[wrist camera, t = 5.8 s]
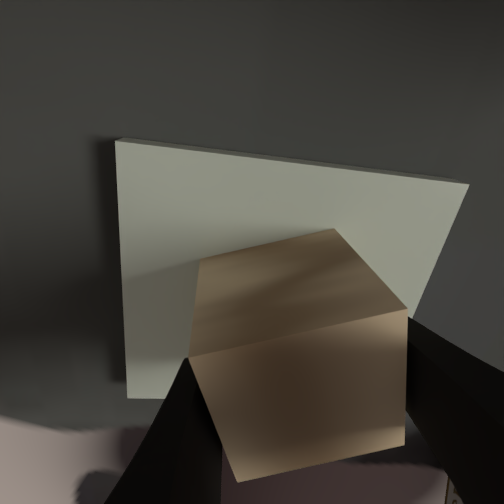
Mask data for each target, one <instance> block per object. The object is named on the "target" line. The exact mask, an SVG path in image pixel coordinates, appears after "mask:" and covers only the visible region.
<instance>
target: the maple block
mask: <svg viewBox="0 0 504 504" xmlns="http://www.w3.org/2000/svg"><path fill="white" fill-rule="evenodd" d="M407 328H408V308H407V307H406V306H405V305H404V304H403V303H402V302H401V300H400V299H399V298H398V297H397V296H396V295H395V294H394V293H393V292H392V291H391V289H390V288H389V287H388V286H387V285H386V284H385V283H384V282H383V281H382V280H381V279H380V277H379V276H378V275H377V274H376V273H375V272H374V271H373V270H372V269H371V268H370V267H369V265H368V264H367V263H366V262H365V261H364V260H363V259H362V258H361V257H360V256H359V255H358V253H357V252H356V251H355V250H354V249H353V248H352V247H351V246H350V245H349V244H348V243H347V241H346V240H345V239H344V238H343V237H342V236H341V235H340V234H339V233H338V232H337V231H336V229H335V228H334V229H329V230H325V231H320V232H316V233H312V234H307V235H303V236H298V237H294V238H290V239H285V240H281V241H276V242H272V243H267V244H263V245H259V246H254V247H250V248H245V249H241V250H237V251H232V252H228V253H223V254H219V255H214V256H210V257H206V258H201V259H200V263H199V272H198V280H197V288H196V297H195V305H194V313H193V321H192V330H191V338H190V346H189V355H188V359H189V362H190V364H191V367H192V369H193V372H194V374H195V377H196V379H197V382H198V384H199V387H200V389H201V392H202V394H203V397H204V400H205V402H206V405H207V407H208V410H209V412H210V415H211V417H212V420H213V422H214V425H215V427H216V430H217V432H218V435H219V437H220V440H221V442H222V445H223V447H224V450H225V452H226V455H227V458H228V460H229V463H230V465H231V468H232V470H233V473H234V475H235V478H236V480H237V482H241V481H246V480H251V479H255V478H260V477H264V476H269V475H273V474H278V473H282V472H287V471H291V470H296V469H300V468H304V467H309V466H313V465H318V464H322V463H327V462H331V461H336V460H340V459H345V458H349V457H354V456H358V455H363V454H367V453H372V452H376V451H380V450H385V449H389V448H394V447H398V446H403V445H405V407H406V368H407Z"/></svg>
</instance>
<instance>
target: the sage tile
mask: <svg viewBox="0 0 504 504" xmlns="http://www.w3.org/2000/svg"><path fill="white" fill-rule="evenodd" d="M115 151H116V172H117V192H118V213H119V233H120V254H121V274H122V294H123V315H124V335H125V356H126V376H127V397H128V398H159V399H165V398H166V396H167V394H168V391H169V389H170V387H171V385H172V383H173V381H174V379H175V377H176V375H177V372H178V370H179V368H180V366H181V364H182V361H183V360H184V358H187V357H188V355H189V346H190V338H191V330H192V321H193V313H194V305H195V297H196V288H197V280H198V272H199V263H200V259H201V258H206V257H210V256H214V255H219V254H223V253H228V252H232V251H237V250H241V249H245V248H250V247H254V246H259V245H263V244H267V243H272V242H276V241H281V240H285V239H290V238H294V237H298V236H303V235H307V234H312V233H316V232H320V231H325V230H329V229H334V228H335V229H336V231H337V232H338V233H339V234H340V235H341V236H342V237H343V238H344V239H345V240H346V241H347V243H348V244H349V245H350V246H351V247H352V248H353V249H354V250H355V251H356V252H357V253H358V255H359V256H360V257H361V258H362V259H363V260H364V261H365V262H366V263H367V264H368V265H369V267H370V268H371V269H372V270H373V271H374V272H375V273H376V274H377V275H378V276H379V277H380V279H381V280H382V281H383V282H384V283H385V284H386V285H387V286H388V287H389V288H390V289H391V291H392V292H393V293H394V294H395V295H396V296H397V297H398V298H399V299H400V300H401V302H402V303H403V304H404V305H405V306H406V307H407V308H408V317H410V318H412V317H413V315H414V312H415V310H416V308H417V305H418V303H419V301H420V298H421V296H422V294H423V291H424V289H425V287H426V284H427V282H428V280H429V277H430V275H431V273H432V270H433V268H434V266H435V263H436V261H437V259H438V256H439V254H440V252H441V249H442V247H443V245H444V243H445V240H446V238H447V236H448V233H449V231H450V229H451V226H452V224H453V222H454V219H455V217H456V215H457V212H458V210H459V208H460V205H461V203H462V201H463V198H464V196H465V194H466V191H467V189H468V187H469V184H466V183H463V182H460V181H457V180H454V179H451V178H444V177H436V176H428V175H420V174H412V173H404V172H396V171H389V170H381V169H373V168H365V167H357V166H349V165H341V164H333V163H325V162H317V161H309V160H301V159H293V158H285V157H277V156H269V155H261V154H253V153H245V152H237V151H229V150H221V149H213V148H205V147H197V146H189V145H181V144H173V143H165V142H157V141H149V140H141V139H133V138H125V137H124V138H121V139H119V140H116V141H115Z"/></svg>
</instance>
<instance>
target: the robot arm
mask: <svg viewBox="0 0 504 504" xmlns="http://www.w3.org/2000/svg"><path fill="white" fill-rule="evenodd" d="M405 410H406V411H407V413H408V414H409V416H410V417H411V419H412V420H413V422H414V424H415V425H416V427H417V428H418V430H419V431H420V433H421V434H422V436H423V437H424V439H425V440H426V442H427V444H428V445H429V447H430V448H431V450H432V451H433V453H434V454H435V456H436V457H437V459H438V460H439V462H440V464H441V465H442V467H443V468H444V470H445V472H446V473H447V475H448V477H449V478H450V480H451V482H452V483H453V485H454V487H455V489H456V491H457V493H458V495H459V496H460V498H461V500H462V502H463V504H504V372H502V371H500V370H498V369H497V368H495V367H493V366H491V365H489V364H487V363H485V362H483V361H482V360H480V359H478V358H476V357H474V356H473V355H471V354H469V353H467V352H466V351H464V350H462V349H461V348H459V347H457V346H455V345H454V344H452V343H450V342H449V341H447V340H445V339H444V338H442V337H440V336H439V335H437V334H436V333H434V332H432V331H431V330H429V329H427V328H426V327H424V326H423V325H421V324H420V323H418V322H416V321H415V320H413V319H412V318H410V317H408V328H407V368H406V407H405ZM221 471H222V442H221V440H220V437H219V435H218V432H217V430H216V427H215V425H214V422H213V420H212V417H211V415H210V412H209V410H208V407H207V405H206V402H205V400H204V397H203V394H202V392H201V389H200V387H199V384H198V382H197V379H196V377H195V374H194V372H193V369H192V367H191V364H190V362H189V359H188V357H187V358H184V360H183V361H182V364H181V366H180V368H179V370H178V372H177V375H176V377H175V379H174V381H173V383H172V385H171V387H170V389H169V391H168V394H167V396H166V398H165V400H164V402H163V404H162V406H161V408H160V409H159V411H158V413H157V415H156V417H155V419H154V421H153V423H152V425H151V427H150V429H149V431H148V432H147V434H146V436H145V438H144V440H143V441H142V443H141V445H140V446H139V448H138V450H137V452H136V453H135V455H134V457H133V459H132V460H131V462H130V464H129V465H128V467H127V468H126V470H125V472H124V473H123V475H122V477H121V478H120V480H119V481H118V483H117V484H116V486H115V487H114V489H113V490H112V492H111V494H110V495H109V497H108V498H107V500H106V501H105V503H104V504H220V501H221Z"/></svg>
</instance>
